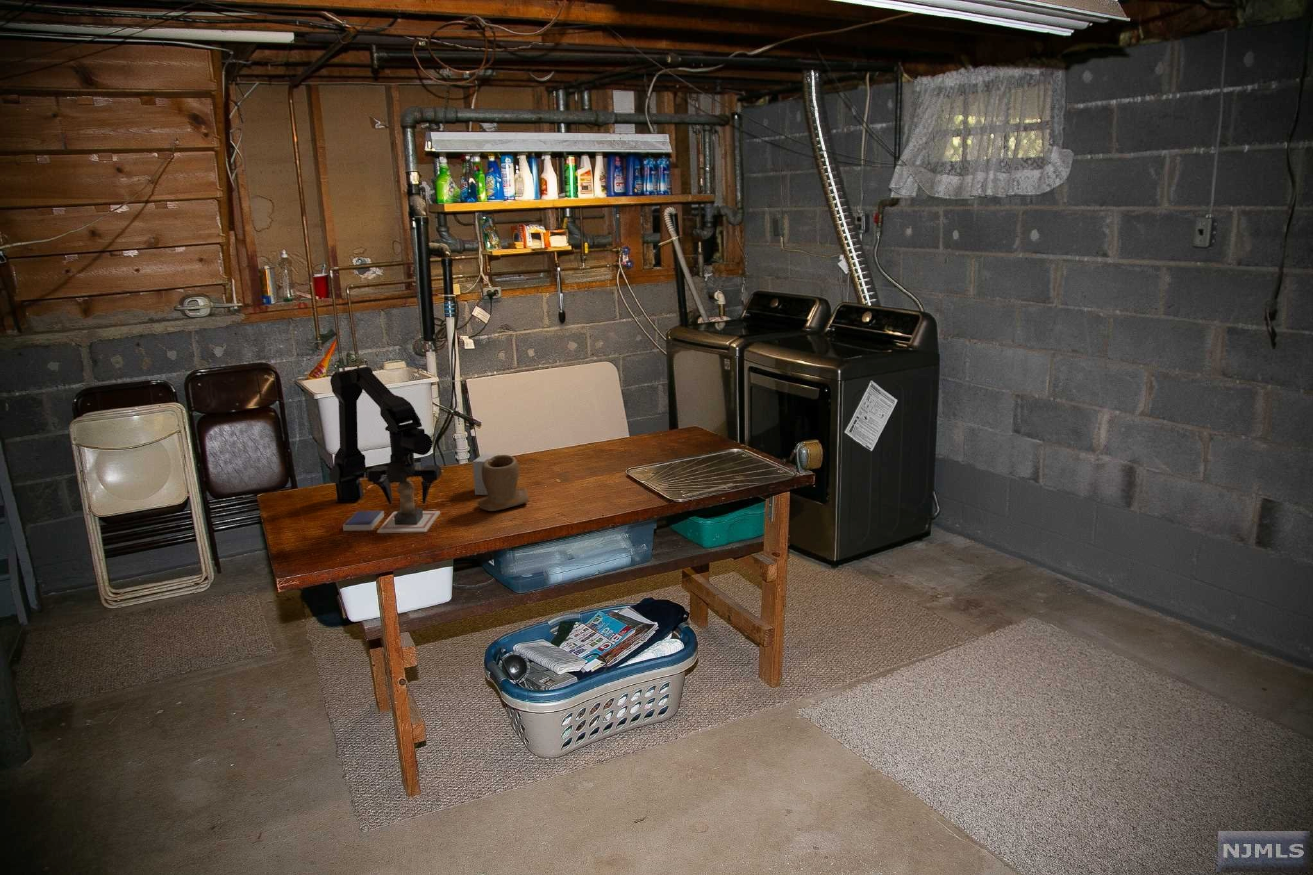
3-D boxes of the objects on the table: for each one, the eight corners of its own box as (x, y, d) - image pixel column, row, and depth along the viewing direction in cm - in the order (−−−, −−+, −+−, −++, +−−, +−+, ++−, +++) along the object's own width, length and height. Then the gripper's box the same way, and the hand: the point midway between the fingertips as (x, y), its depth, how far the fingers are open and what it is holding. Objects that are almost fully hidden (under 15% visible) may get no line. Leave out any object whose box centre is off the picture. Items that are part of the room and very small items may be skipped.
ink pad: (343, 530, 243) (342, 524, 243) (357, 516, 254) (356, 510, 253) (371, 530, 243) (370, 524, 242) (384, 515, 253) (383, 510, 253)
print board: (377, 532, 241) (376, 530, 241) (394, 513, 255) (393, 511, 255) (425, 532, 241) (425, 530, 240) (440, 512, 255) (439, 510, 255)
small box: (492, 495, 268) (489, 461, 265) (474, 495, 269) (471, 461, 267) (502, 487, 276) (499, 454, 273) (484, 486, 277) (482, 453, 274)
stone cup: (490, 518, 250) (486, 466, 246) (473, 506, 260) (469, 456, 256) (539, 506, 258) (536, 456, 254) (522, 495, 268) (518, 447, 264)
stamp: (394, 524, 245) (390, 484, 242) (401, 517, 251) (397, 477, 248) (417, 524, 245) (413, 484, 242) (423, 516, 251) (419, 477, 248)
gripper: (357, 457, 235) (363, 514, 239) (428, 456, 234) (433, 513, 238) (371, 445, 246) (377, 500, 250) (439, 444, 245) (444, 499, 249)
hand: (407, 503), depth 246 cm, fingers open, 9 cm apart
